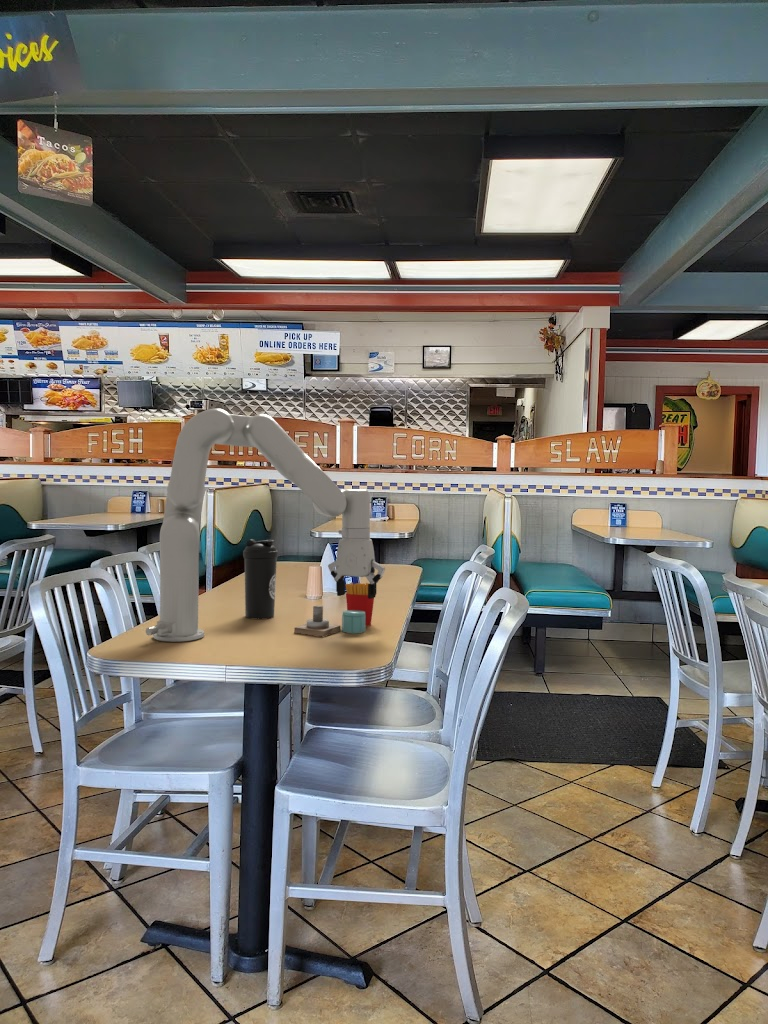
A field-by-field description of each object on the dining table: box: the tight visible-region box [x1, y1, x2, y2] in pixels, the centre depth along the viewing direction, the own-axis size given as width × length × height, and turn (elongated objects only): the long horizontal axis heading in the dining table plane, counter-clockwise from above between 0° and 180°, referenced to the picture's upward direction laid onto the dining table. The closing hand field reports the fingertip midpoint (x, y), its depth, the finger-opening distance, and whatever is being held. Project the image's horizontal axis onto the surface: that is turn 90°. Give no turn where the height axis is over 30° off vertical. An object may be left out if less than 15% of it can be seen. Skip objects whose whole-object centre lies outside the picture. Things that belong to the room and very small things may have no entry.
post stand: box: [293, 605, 342, 638], centre depth 192 cm, size 9×9×7 cm
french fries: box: [345, 582, 375, 627], centre depth 203 cm, size 8×4×12 cm, turn 81°
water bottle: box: [242, 538, 279, 620], centre depth 212 cm, size 10×10×23 cm
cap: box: [341, 609, 366, 634], centre depth 194 cm, size 6×6×5 cm
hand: (356, 596), depth 194 cm, fingers open, 9 cm apart
